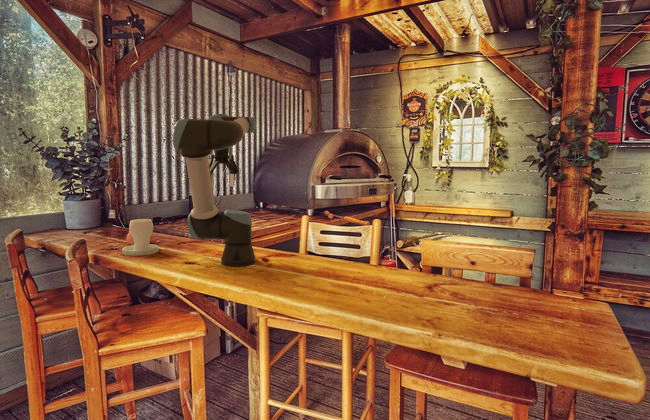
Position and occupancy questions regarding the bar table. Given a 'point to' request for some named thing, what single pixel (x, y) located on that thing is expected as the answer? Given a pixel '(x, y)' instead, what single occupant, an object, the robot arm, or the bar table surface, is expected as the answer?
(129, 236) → the sugar bowl
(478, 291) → the bar table surface
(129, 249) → the dish
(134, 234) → the cup
